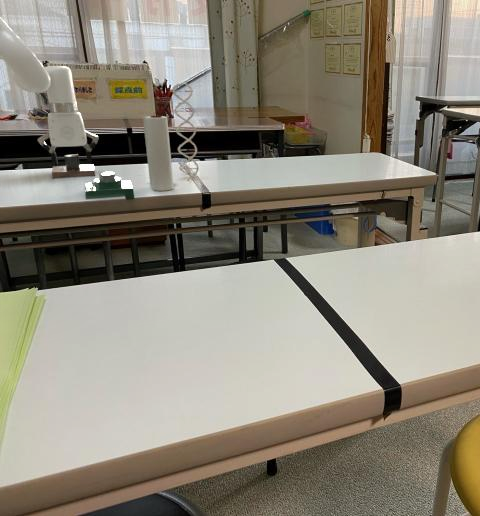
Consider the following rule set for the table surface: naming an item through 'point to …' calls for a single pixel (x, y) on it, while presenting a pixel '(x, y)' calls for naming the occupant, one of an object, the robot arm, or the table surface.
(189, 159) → the dna model
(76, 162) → the dial
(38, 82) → the robot arm
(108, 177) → the button
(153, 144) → the paper towel roll
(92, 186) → the green stepped block
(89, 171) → the warmer panel
